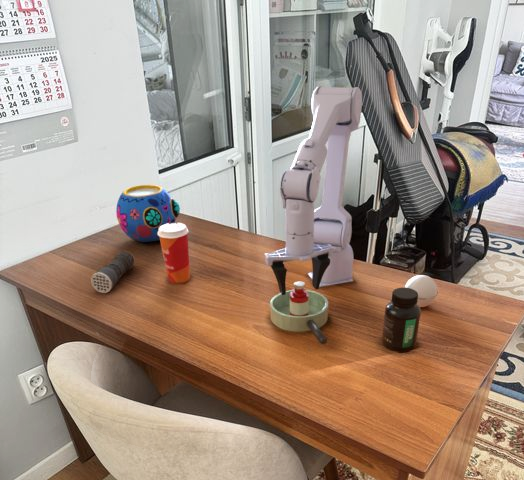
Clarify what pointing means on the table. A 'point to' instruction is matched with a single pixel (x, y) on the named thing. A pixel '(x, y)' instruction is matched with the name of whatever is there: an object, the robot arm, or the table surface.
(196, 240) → the table surface
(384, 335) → the supplement bottle
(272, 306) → the pan
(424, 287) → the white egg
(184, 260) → the paper cup
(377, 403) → the table surface
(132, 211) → the ceramic pot
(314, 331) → the pan handle
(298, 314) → the sauce bottle
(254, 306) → the table surface
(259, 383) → the table surface
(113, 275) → the flashlight
